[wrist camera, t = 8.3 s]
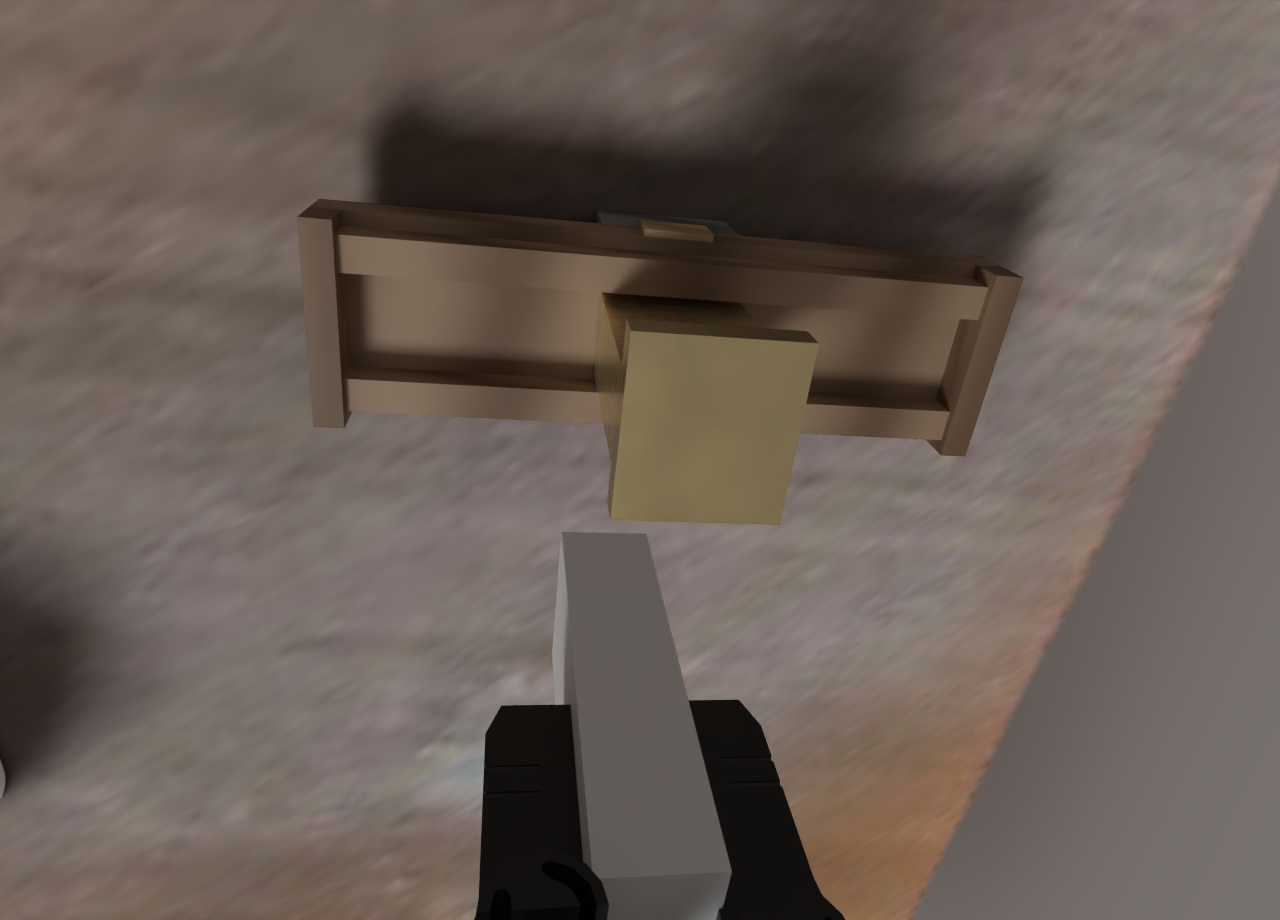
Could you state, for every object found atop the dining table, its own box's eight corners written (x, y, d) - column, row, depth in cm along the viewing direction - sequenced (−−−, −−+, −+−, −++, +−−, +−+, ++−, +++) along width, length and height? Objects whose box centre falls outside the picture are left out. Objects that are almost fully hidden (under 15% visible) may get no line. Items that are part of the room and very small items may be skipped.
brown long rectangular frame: (345, 373, 33) (314, 433, 28) (334, 179, 29) (296, 208, 24) (905, 404, 36) (963, 461, 32) (952, 235, 33) (1025, 271, 28)
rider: (590, 405, 30) (610, 519, 23) (604, 254, 28) (630, 330, 21) (722, 412, 31) (779, 525, 24) (747, 265, 28) (819, 343, 21)
